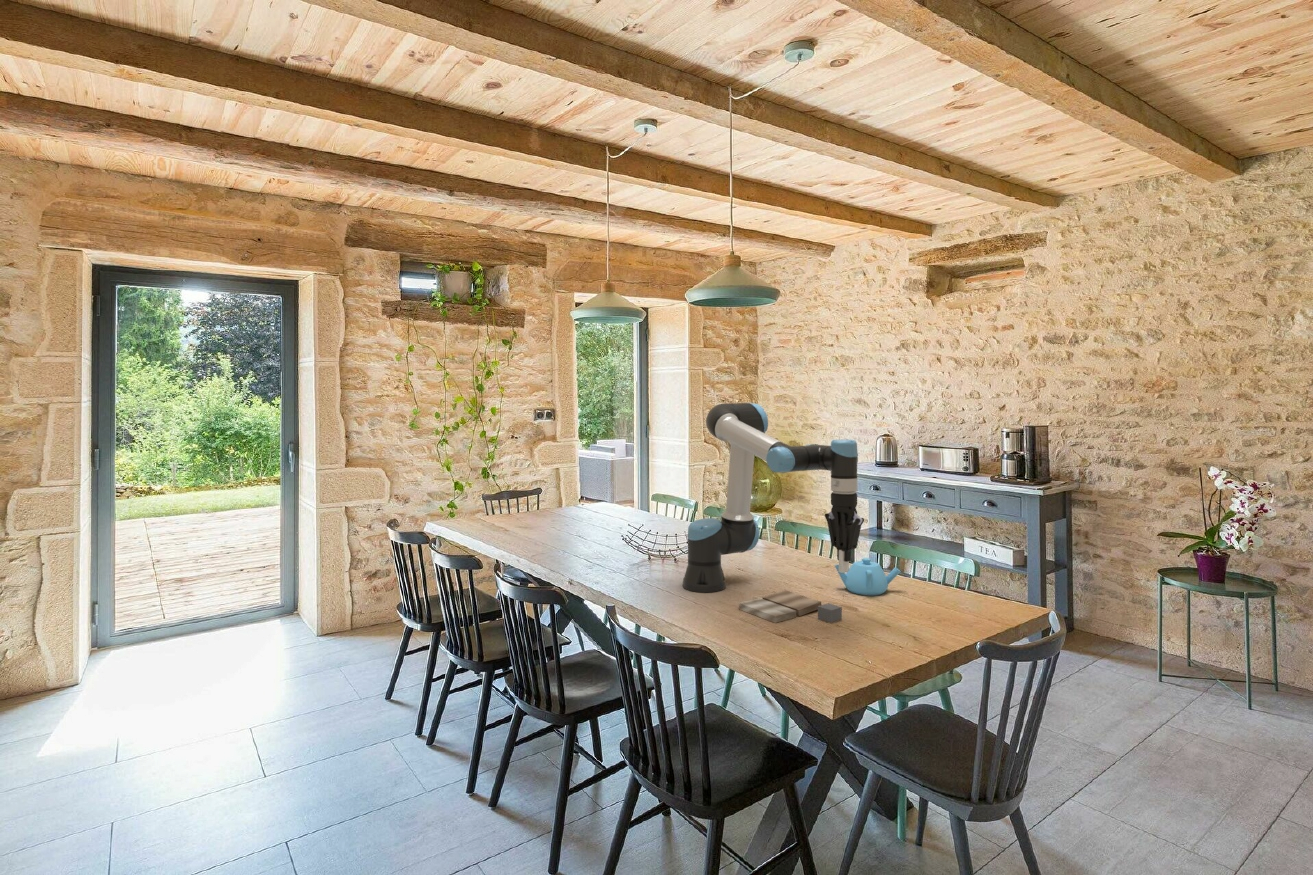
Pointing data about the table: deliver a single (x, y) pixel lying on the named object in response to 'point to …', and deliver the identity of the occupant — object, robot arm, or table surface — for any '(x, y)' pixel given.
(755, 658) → the table surface
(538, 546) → the table surface
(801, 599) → the board
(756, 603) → the laid floor rows
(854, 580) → the teapot
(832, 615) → the block
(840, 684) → the table surface
